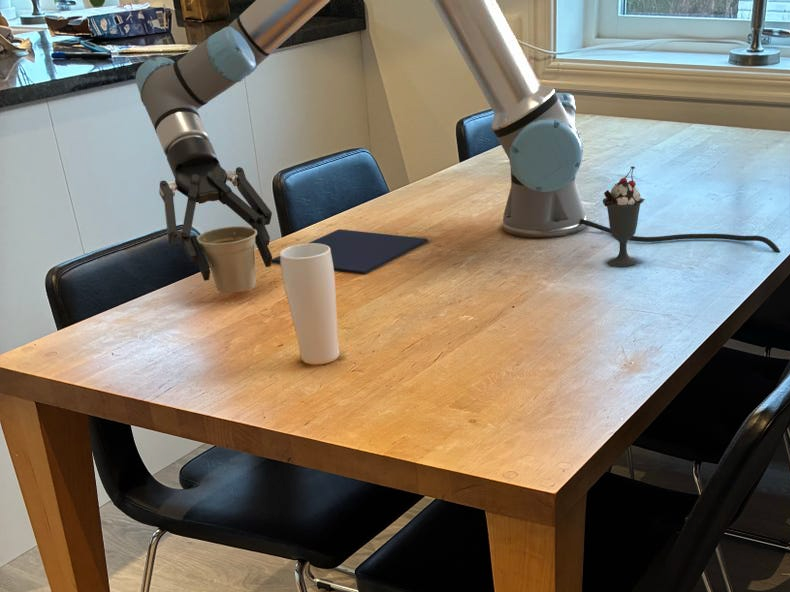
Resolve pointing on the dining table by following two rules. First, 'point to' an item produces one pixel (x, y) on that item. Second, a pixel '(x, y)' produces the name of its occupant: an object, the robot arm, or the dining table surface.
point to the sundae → (623, 217)
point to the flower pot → (230, 257)
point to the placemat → (364, 249)
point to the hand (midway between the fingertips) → (238, 269)
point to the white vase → (312, 300)
